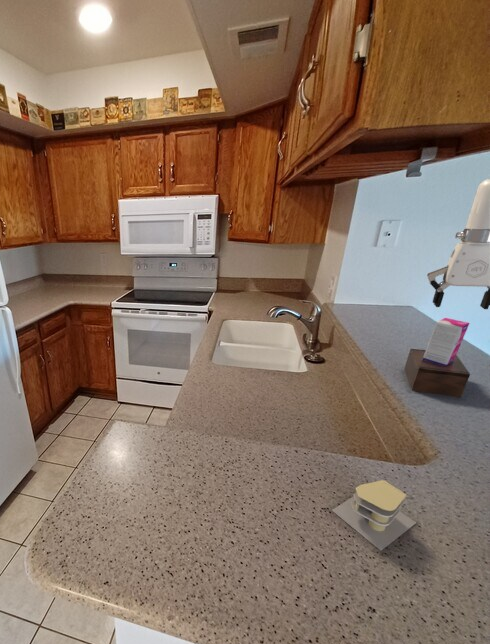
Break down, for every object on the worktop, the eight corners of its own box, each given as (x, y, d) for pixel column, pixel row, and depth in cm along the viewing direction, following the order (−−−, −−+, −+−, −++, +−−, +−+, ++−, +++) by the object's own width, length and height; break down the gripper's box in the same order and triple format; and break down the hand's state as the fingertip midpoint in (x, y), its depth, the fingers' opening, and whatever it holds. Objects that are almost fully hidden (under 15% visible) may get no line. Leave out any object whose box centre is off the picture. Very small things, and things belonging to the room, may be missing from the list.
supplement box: (446, 366, 89) (461, 327, 84) (421, 359, 94) (434, 321, 88) (455, 360, 92) (470, 322, 87) (430, 354, 96) (443, 316, 91)
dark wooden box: (447, 374, 100) (455, 353, 96) (460, 397, 88) (470, 374, 85) (404, 369, 104) (410, 348, 101) (411, 390, 93) (419, 367, 90)
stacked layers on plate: (366, 488, 63) (373, 466, 61) (416, 522, 56) (426, 500, 53) (331, 510, 59) (337, 488, 57) (380, 551, 52) (389, 527, 49)
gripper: (441, 239, 79) (422, 309, 86) (540, 237, 71) (509, 313, 79) (434, 236, 85) (416, 301, 92) (525, 233, 77) (497, 304, 85)
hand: (459, 306), depth 86 cm, fingers open, 9 cm apart
